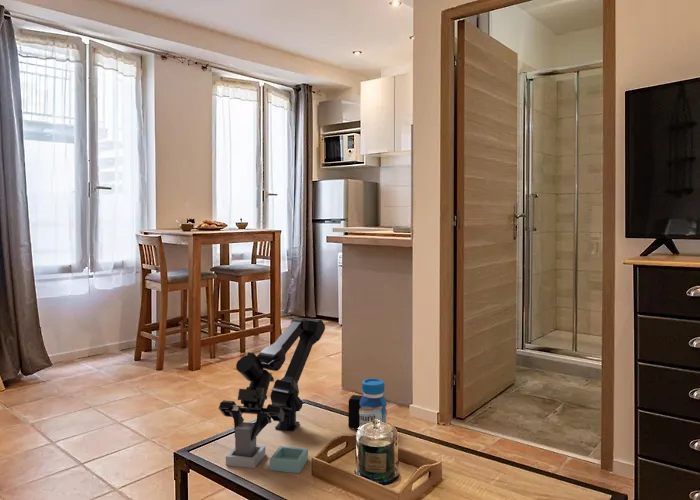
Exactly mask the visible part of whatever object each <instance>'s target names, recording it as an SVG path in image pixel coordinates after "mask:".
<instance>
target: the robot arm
mask: <svg viewBox="0 0 700 500" xmlns="http://www.w3.org/2000/svg"><path fill="white" fill-rule="evenodd" d="M325 329H326V325H325V323H324V320H321V319H318V318H317V319H316V318H307V317H304V318H303V317H294V318H292V319H291V320H290V323H289V324H288V326H287V327H286V329H284V330H283V332H282V333H281V334H280V335H279V336H278V338H277V339H276V340H275V342H273V343H272V344H270V345H268V346H266V347H264V348H263V349H262V350H261V351H259V353H258V354H257V355H256V354H255V353H254V352H250V351H248V352H247V354H246V355H244V356H242V357H240V359H239V360H237V362H236V365H235V368H236V371H237V372H238V373H239V374H241V375H242V377H243V378H245V380H246V381H248V382H249V386H247V387H246V388H239V389H238V394H237V395H238V396H237V401H240V403H241V405H238V404H236V402H235V401H233V400H225V399H224V400H222V401H221V402H220V403H219V406H218V410H219V411H220V412H221V413H222V415H223V416H225V417H228V418H232V419H233V423H234V426H233V427H234V431H235V428H236V427H237V426H238V425H239V424H240V423H241V422H244V420H245V419H244V417H243V414H251V415H256V421H255V426H254V429H253V432H252V436H251V440H252V441H253V440H254V439H255V438H256V439H257V436H258V435H259V434H260V433H261V432H262V430H263V429H264V428H265V427H266V426H267V425H268V424H271V423H272V421H274V422H278V423H277V424H276V426H275V427H274V428H275V430H281V431H283V430H285V431H292V432H294V431H295V430H296V429H297V427H298V426H299V425H300V421H297V412H300V411H301V409H302V408H303V404H304V402H303V400H302V399H301V398H300V397H299V393H300V391H299V385H298V383H299V381H300V378H301V375H302V373H303V371H304V368H305V366H306V363H307V360H308V359H309V356H310V354H311V351H312V349H313V346H314V345H315V344H316V343H317V342H319V341H320V340H321V338H322V336H323V334H324V332H325ZM298 338H299V340H298ZM297 340H298V343H297V344H296V348H295V350H294V353H293V354H292V357H291V360H290V362H289V364H288V367H287V369H286V371H285V373H284V376H283V377H282V378H281V379H278V378H277V379H276V380H275V379H274V377H273V375H272V372H269V371H273V372H278V371H279V370H281V369H282V366H283V365H284V363H285V361H286V355H287V353H288V351H289V350H290V349H291V348H292V347H293V345H294V344H295V342H296V341H297ZM270 382H274V385H273V387H272V389H271V393H270V398H269V399H270V402H271V404H270V403H269V404H268V405H267V406H266V407H264V405H265V403H266V401H267V398H268V395H267V394H268V390H269V388H270V387H269V386H270Z"/></svg>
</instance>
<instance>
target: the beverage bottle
mask: <svg viewBox="0 0 700 500" xmlns="http://www.w3.org/2000/svg"><path fill="white" fill-rule="evenodd" d="M361 391H362V393H363V395H361V396H362V398H361V400H360V406H361V408H360V410H359V415H360V426H362V425H363V424H366V423H368V422H371V421H372V420H374V419H378V420H380V421H382V422H384V423H386V424H387V416H388V410H387V408H386V407H387V405H388V403H387V400H386V398H385V396H384V395H383V394H385V381H384V380H382V379H380V378H374V377H373V378H366V379H363V380H362V384H361Z"/></svg>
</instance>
